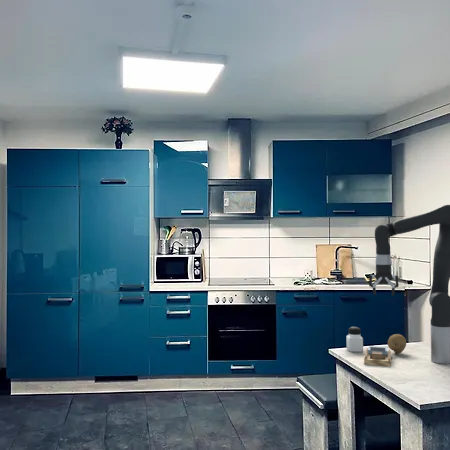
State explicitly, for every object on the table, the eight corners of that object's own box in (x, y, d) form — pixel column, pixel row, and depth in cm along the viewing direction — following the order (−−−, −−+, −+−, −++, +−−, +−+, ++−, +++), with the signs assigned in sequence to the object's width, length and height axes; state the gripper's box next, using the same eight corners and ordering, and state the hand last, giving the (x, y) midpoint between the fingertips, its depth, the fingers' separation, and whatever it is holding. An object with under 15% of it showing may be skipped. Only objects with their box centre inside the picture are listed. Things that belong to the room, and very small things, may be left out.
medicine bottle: (363, 351, 253) (363, 328, 253) (349, 351, 253) (349, 328, 253) (359, 348, 260) (359, 326, 260) (346, 348, 260) (346, 326, 260)
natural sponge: (396, 356, 243) (396, 336, 243) (383, 352, 251) (383, 333, 251) (410, 354, 246) (409, 334, 247) (397, 350, 255) (397, 331, 255)
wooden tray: (390, 356, 243) (390, 349, 243) (391, 366, 225) (390, 358, 225) (365, 354, 247) (365, 347, 247) (364, 364, 229) (364, 357, 229)
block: (382, 363, 229) (382, 354, 229) (372, 363, 230) (372, 353, 230) (382, 361, 233) (382, 352, 233) (372, 360, 235) (372, 351, 235)
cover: (387, 351, 242) (387, 344, 242) (387, 355, 234) (387, 348, 234) (368, 350, 245) (368, 343, 245) (368, 354, 237) (368, 346, 237)
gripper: (368, 263, 246) (368, 295, 246) (398, 264, 242) (398, 296, 241) (369, 262, 253) (369, 294, 253) (398, 263, 249) (398, 294, 249)
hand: (383, 295), depth 247 cm, fingers open, 8 cm apart
